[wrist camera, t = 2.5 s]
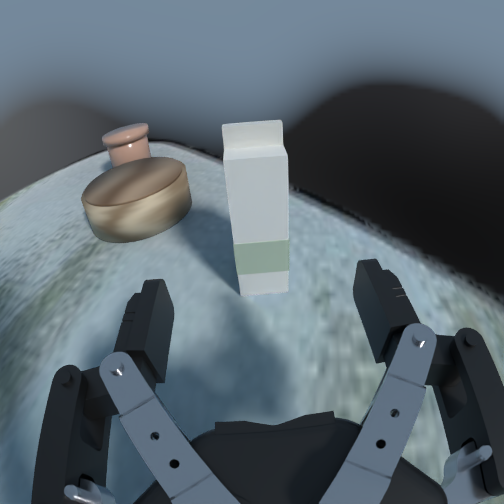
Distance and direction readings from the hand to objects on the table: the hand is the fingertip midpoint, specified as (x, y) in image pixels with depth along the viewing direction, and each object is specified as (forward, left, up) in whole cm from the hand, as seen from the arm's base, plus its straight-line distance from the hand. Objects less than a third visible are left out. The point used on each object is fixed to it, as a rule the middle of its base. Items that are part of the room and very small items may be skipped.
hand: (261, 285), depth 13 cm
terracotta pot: (-20, +40, -10) cm, 45 cm away
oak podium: (-15, +26, -10) cm, 31 cm away
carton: (0, +12, -10) cm, 15 cm away
